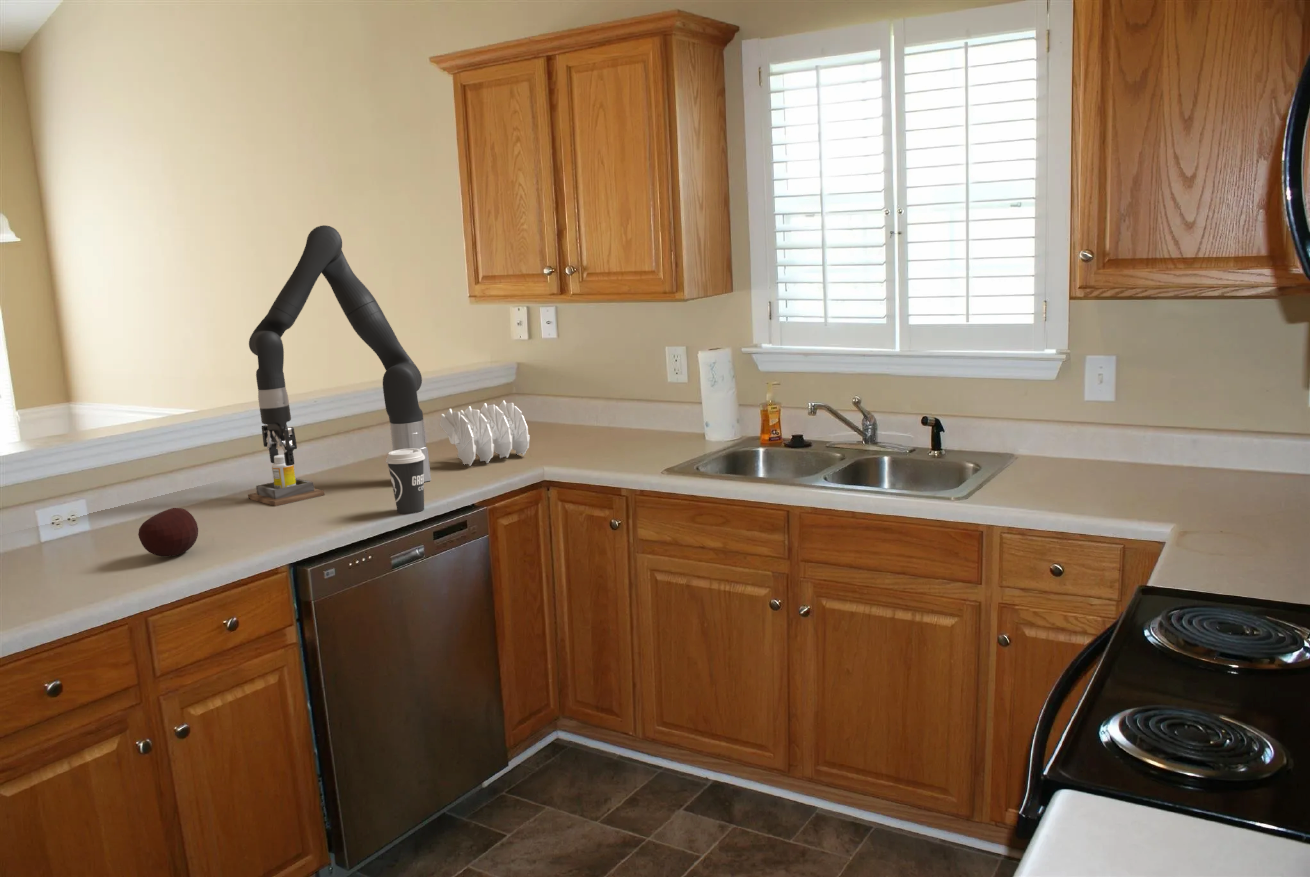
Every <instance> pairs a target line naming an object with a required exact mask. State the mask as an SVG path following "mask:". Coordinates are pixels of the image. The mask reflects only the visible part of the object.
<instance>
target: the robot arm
mask: <svg viewBox="0 0 1310 877" xmlns="http://www.w3.org/2000/svg"><path fill="white" fill-rule="evenodd" d="M321 274H322V275H323V277H324V278H325V279H326V281H327V282H328V284H329V286H330V288H331V290H332V292H333V294H334V297H335V298H336V300H337V303H338V304H339V306H340V308H341V310H342V312H343V313H344V315H345V317H346V319H347V321H348V322H349V324H350V326H351V328H352V329H353V330H354V331H355V333H356V335H358V337H359V338H360V339H361V340H362V342H364V343H365V344H366V345H367V346H368V347H369V348H370V349H371V350H372V351H373V352H374V353H375V355H376V356H377V357H378V359H379V360H380V362H381V363H382V365H383V367H384V369H385V372H384V374H383V376H382V392H383V400H384V405H385V410H386V411H385V412H386V414H387V415H388V421H389V427H390V438H391V446H392V451H395V450H400V449H412V448H413V449H420V450H421V451H422V453H423V454H424V456H425V459H424V460H423V465H424V483H425V482H429V481H432V474H431V467H430V458H429V448H428V447H427V441H426V434H425V432H426V431H425V422H424V411H423V409H422V408H421V407H420V404H419V398H418V391H419V390H420V388H421V386H422V382H423V377H422V374H421V371H420V368H418V366H417V365H416V364H415V362H414V361H413V360H412V358H411V357H410V355H408V353H407V352H406V350H405V349H404V347H403V346H402V344H401V343H400V341H399V339H398V337H397V335H396V334H395V331H394V329H393V327H392V326H391V325H390V322H389V321H388V319H387V317H386V316H385V314H384V311H383V310H382V308H381V306H380V305H379V303H378V301H377V299H376V298H375V297H374V295H373V294H372V292H371V291H370V290H369V288H368V287H367V286H366V285H365V284H364V283H363V282H362V281H361V280H360V279H359V278H358V277H357V275H356V274H355V272H354V271H353V270H352V268H351V266H350V264H349V263H348V261H347V259H346V256H345V254H344V252H343V240H342V236H341V234H340V233H339V231H338V230H337V229H336V228H334V227H333V226H330V225H319V226H316V227H313V229H312V230H310V232H309V233H308V235H307V238H306V243H305V247H304V249H303V251H302V254H301V256H300V259H299V260H298V263H297V264H296V266H295V268H294V270H293V271H292V273H291V275H290V276H289V278H288V279H287V280H286V282H285V284H284V286H283V287H282V288H281V290H280V292H279V293H278V295H277V297H276V298H275V300H274V301H273V303H272V304H271V307H270V309H268V312H267V314H266V315H265V316H264V318H262V320H261V321H260V322H259V323H258V325H257V326H256V327H255V328H254V330H253V332H252V333H251V334H250V337H249V340H248V347H249V350H250V352H251V353H252V354H253V355H254V356H256V357H257V365H258V368H256V371H255V372H256V373H255V376H256V377H255V378H256V384H257V392H258V393H257V394H258V395H257V398H258V399H257V400H258V408H259V413H260V414H259V415H260V420H261V423H262V424H263V425H261V433H262V434H261V435H262V442H263V447H264V448H266V449H267V451H268V452H269V453H268V454H269V461H270V463H271V464H274V463H275V462H274V456H277V455H280V454H279V449H278V446H279V447H281V448H282V449H281V450H283V455H284V457H285V464H286V466H291V465H295V458H294V456H295V455H294V451H295V450H297V448H298V445H297V439H296V433H295V428H294V427H293V426H290V427H288V425H287V423H289V422H290V421H292V417H291V416H292V415H291V409H290V402H289V400H290V399H289V395H288V391H287V387H286V380H285V374H284V363H285V362H284V361H285V359H284V355H285V354H284V353H285V352H284V349H285V348H284V344H283V340H282V336H283V335H284V334H285V332H286V331H287V330H289V329H291V327H293V326H294V324H295V322H296V320H297V319H298V317H299V315H300V313H302V311H303V309H304V307H305V304H306V303H307V300H308V299H309V297H310V294H311V292H312V290H313V288H314V286H315V284H316V282H317V280H318V278H319V277H320V276H321Z"/></svg>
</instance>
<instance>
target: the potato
mask: <svg viewBox="0 0 1310 877" xmlns="http://www.w3.org/2000/svg"><path fill="white" fill-rule="evenodd" d="M198 526H199V525H198V523H197V521H196V519H195V517H194V516H193V515H192V513H190V512H189V511H188V510H187V509H186V508H183V507H172V508H168V509H165V510H163V511H160V512H159V513H156V514H154V515H153V516H151V517H149V518H148V519H147V520H145V521H144V522H143V523H141V525H140V527H139V529H138V534H137V535H138V539H139V541H140V543H141V545H142V547H143V548H144V549H145V550H146V551H147V552H148V553H150V554H152V555H155V556H159V557H176V556H180V555H182V554H184V553H186V552H187V551H189V550H190V549H191V548H192V547H193V546H194V544H195V543H196V542H197V539H198V536H199V527H198Z"/></svg>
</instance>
